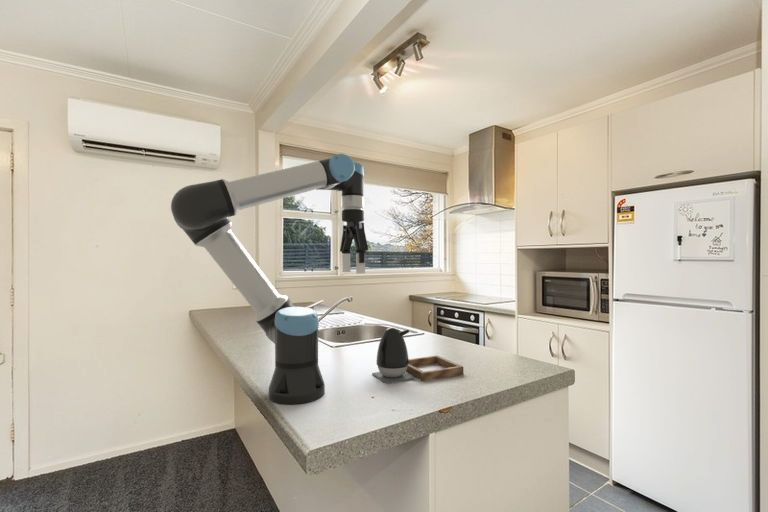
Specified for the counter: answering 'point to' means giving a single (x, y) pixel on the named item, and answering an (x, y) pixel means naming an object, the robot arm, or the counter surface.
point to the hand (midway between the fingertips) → (353, 272)
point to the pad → (393, 380)
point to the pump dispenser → (392, 353)
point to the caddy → (447, 371)
